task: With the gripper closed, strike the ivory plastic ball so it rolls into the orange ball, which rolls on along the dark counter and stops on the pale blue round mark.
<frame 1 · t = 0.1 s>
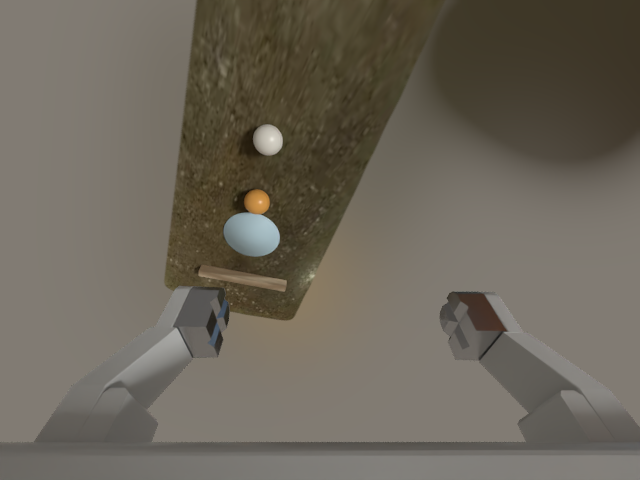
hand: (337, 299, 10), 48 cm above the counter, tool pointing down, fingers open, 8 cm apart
blue mark: (252, 235, 68), on the counter
orange ball: (257, 202, 59), on the counter
wooden stop rail: (245, 275, 77), on the counter
ivory ball: (268, 140, 51), on the counter
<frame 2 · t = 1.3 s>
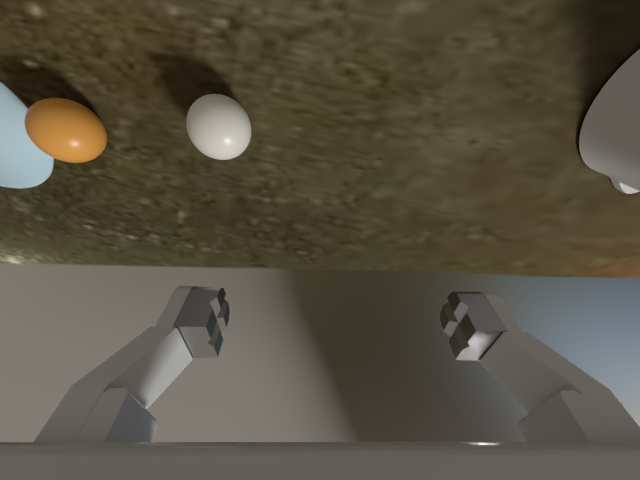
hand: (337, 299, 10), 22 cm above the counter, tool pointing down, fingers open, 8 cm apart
orange ball: (68, 131, 25), on the counter
ivory ball: (220, 128, 24), on the counter
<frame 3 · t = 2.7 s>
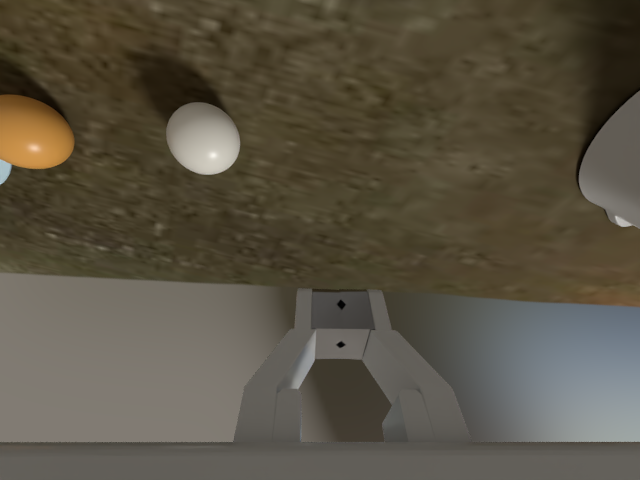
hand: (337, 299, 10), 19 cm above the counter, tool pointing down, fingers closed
orange ball: (27, 133, 22), on the counter
ivory ball: (205, 139, 22), on the counter
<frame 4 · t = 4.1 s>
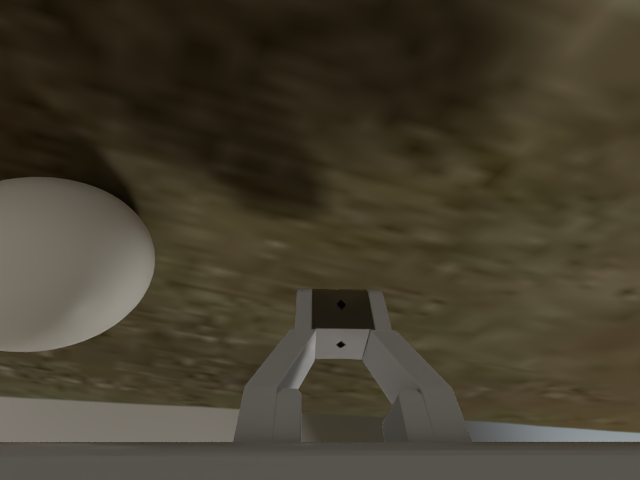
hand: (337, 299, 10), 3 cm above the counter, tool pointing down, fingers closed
ivory ball: (57, 262, 9), on the counter
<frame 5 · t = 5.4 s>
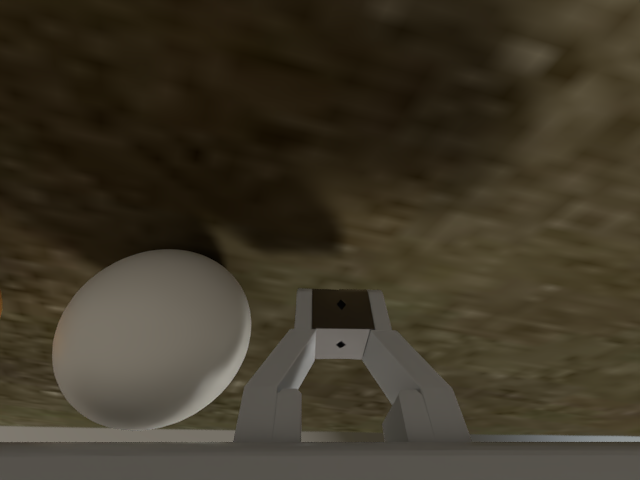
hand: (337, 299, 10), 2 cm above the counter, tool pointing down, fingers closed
ivory ball: (167, 330, 9), on the counter
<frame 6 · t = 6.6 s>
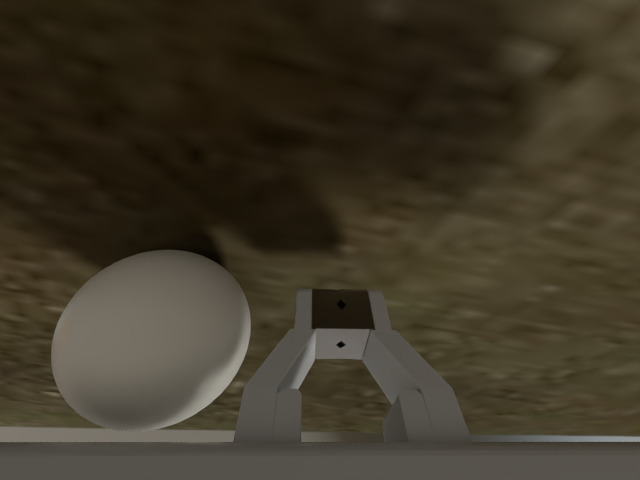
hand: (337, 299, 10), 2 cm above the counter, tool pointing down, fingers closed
ivory ball: (166, 331, 9), on the counter
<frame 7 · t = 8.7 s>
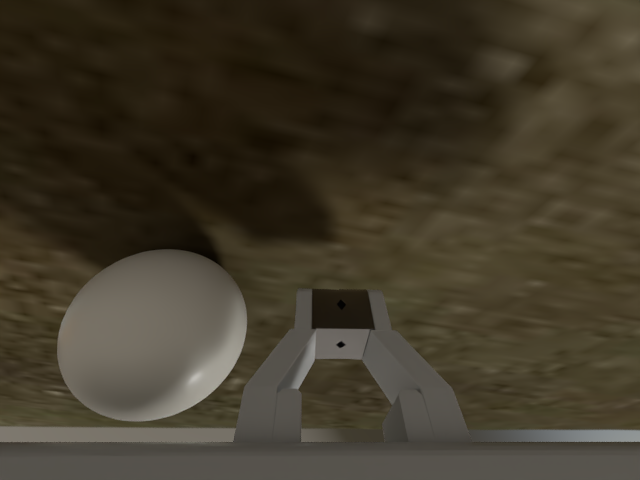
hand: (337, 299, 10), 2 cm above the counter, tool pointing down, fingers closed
ivory ball: (166, 327, 9), on the counter
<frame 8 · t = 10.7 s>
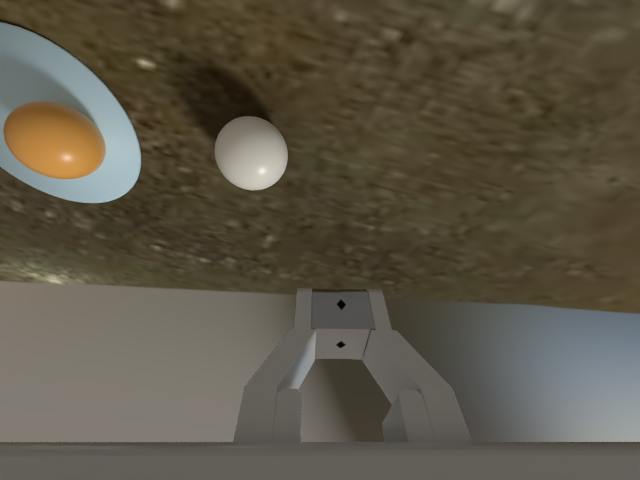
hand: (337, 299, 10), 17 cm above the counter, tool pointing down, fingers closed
blue mark: (49, 129, 22), on the counter
orange ball: (59, 142, 20), on the counter
ivory ball: (252, 154, 21), on the counter
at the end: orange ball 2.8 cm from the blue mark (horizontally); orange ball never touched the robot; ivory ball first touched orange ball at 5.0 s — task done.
